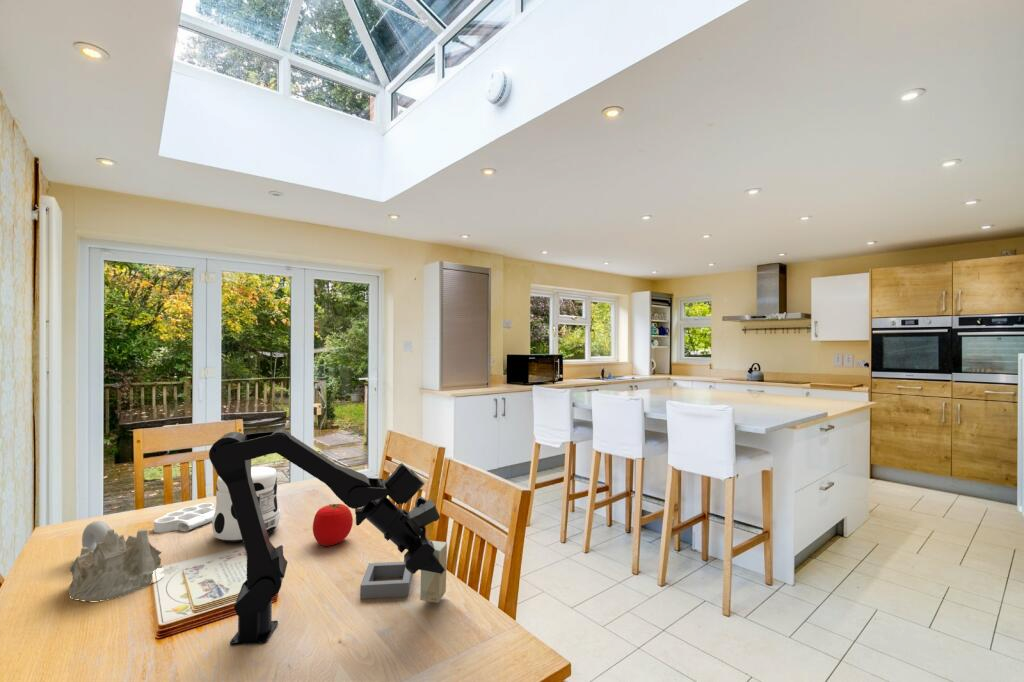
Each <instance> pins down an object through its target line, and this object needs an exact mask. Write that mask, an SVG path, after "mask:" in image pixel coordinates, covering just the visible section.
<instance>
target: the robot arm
mask: <svg viewBox="0 0 1024 682" xmlns="http://www.w3.org/2000/svg"><path fill="white" fill-rule="evenodd" d="M272 454H278V455H279V456H281V457H282V458H284V459H286V460H287V461H289V462H290V463H291V464H294V465H295V466H297V467H298V468H300V469H302V470H303V471H304V472H306V473H308V474H309V475H311V476H312V477H314V478H316V479H317V480H319V481H320V482H322V483H324V484H325V485H326V486H327V487H328V488H330V490H331V491H332V493H333V494H334V495H335V496H336V497H337V498H338V499H339V500H341V502H342V503H343V504H344V505H345V506H347V507H348V508H349V509H353V510H354V514H355V525H356V526H360V525H361V523H363V522H364V521H365V520H367V521H368V522H369V523H370V524H372V525H373V526H374V527H375V528H376V529H377V530H378V531H379V532H381V534H383V538H384V539H385V540H386V541H387V542H388V541H390V542H391V543H393V544H394V545H395V546H396V547H397V550H398V551H399V552H400V553H401V554H403V553H404V551H405V550H407V551H406V553H405V554H403V562H404V563H405V567H406V569H407V570H408V571H409V572H410V573H412V575H415V574H416V573H417V572H418V571H421V570H424V571H430V572H435V573H440V574H442V573H443V572H444V571H445V569H444V567H443V566H442V565H441V563H440V562H439V561H438V559H437V558H436V557H435V555H434V554H433V553H434V550H435V548H434V545H433V543H432V541H433V540H429V539H428V538H427V535H426V533H427V531H426V526H428V525H430V524H431V523H434V522H437V521H438V520H439V519H440V518H441V515H440V514H439V511H438V510H437V507H436V504H435V502H434V501H433V499H430V498H428V499H425V498H424V497H422V496H420V497H418V498H416V499H415V503H414V504H415V505H414V507H412V510H410V511H409V512H408V511H407V510H406V509H405V508H404V509H403V508H401V509H400V508H399V507H398V506H397V505H402V506H403V504H404V505H406V504H407V503H408V502H409V501H410V500H412V498H413V497H414V496H415V495H416V494H417V493H418V492H419V491H420V490H421V488H423V486H424V485H425V482H424V480H423V479H422V478H421V477H420V476H419V475H417V473H415V471H414V470H413V469H410V468H409V467H408V466H406V465H405V464H404V463H402V462H401V463H400V464H399V465H398V466H397V467H396V468H395V470H394V471H393V472H392V473H391V474H390V475H389V476H387V478H386V479H384V478H378V477H368V476H367V475H366V474H364V473H362V472H360V471H356V470H354V469H352V468H348V467H345V466H342V465H339V464H338V463H337V464H336V463H335V462H334V461H332V460H331V459H330V458H327V457H326V456H324V455H322V454H321V453H319V452H318V451H317V450H315V449H313V448H312V447H311V446H309V445H307V444H306V443H304V442H303V441H301V440H300V439H298V438H296V437H295V436H293V435H292V434H291V433H290V431H288V430H286V429H282V428H279V429H276V430H271V431H263V432H262V431H260V432H253V433H248V434H247V433H246V434H244V433H242V432H238V431H230V432H228V433H225V434H224V435H223V436H221V437H220V438H219V439H218V440H217V441H215V442H214V443H213V444H212V446H211V447H210V449H209V452H208V457H209V461H210V463H211V465H212V466H213V468H214V470H215V472H216V474H217V476H219V477H220V478H221V479H222V480H223V481H224V483H225V484H226V485H227V487H228V491H229V494H230V498H231V501H232V505H233V508H234V512H235V515H236V519H237V522H238V526H239V529H240V533H241V536H242V540H243V541H242V542H243V546H244V551H245V553H246V580H245V581H244V582H243V583H242V585H241V587H240V589H239V591H238V592H239V593H238V595H237V598H236V601H235V603H234V606H233V609H234V610H235V613H236V615H237V632H235V633H236V634H234V636H233V637H232V638H231V640H230V641H229V644H230V646H234V645H235V646H236V645H237V646H239V645H252V644H253V645H254V644H264V643H267V641H268V640H269V639H270V637H271V636H272V633H273V632H274V631H275V629H276V628H277V626H278V625H279V621H278V620H272V611H273V610H272V609H273V607H272V605H273V599H272V598H274V597H275V596H276V595H277V594H278V593H279V591H280V590H281V588H282V583H283V580H284V578H285V577H286V571H287V567H288V566H287V565H288V560H287V559H286V558H285V556H284V547H283V544H281V545H279V546H277V547H275V546H274V545H273V543H272V542H271V541H270V538H269V534H267V530H266V527H265V523H264V520H263V516H262V513H261V509H260V505H259V502H258V498H257V495H256V491H255V488H254V484H253V481H252V477H251V467H252V460H254V459H256V458H260V457H264V456H268V455H272ZM388 497H389V498H390V499H391V500H392V501H393V502H394V503H393V502H392V501H391V500H390V499H389V498H388ZM395 503H396V504H395ZM430 541H431V542H430Z"/></svg>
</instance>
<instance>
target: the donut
mask: <svg viewBox="0 0 1024 682" xmlns="http://www.w3.org/2000/svg"><path fill="white" fill-rule="evenodd" d="M109 529H111V528H110V526H109V525H108V524H107V523H106V522H105V521H102V520H101V521H100V520H94V521H92V522H90V523H89V524H87V525H86V526H85V528H84V530H83V532H82V534H81V535H82V536H81V545H82V548H83V547H87V548H89V549H88V551H89V552H90V551H93V552H94V550H95V548H96V546H97V543H100V542H104V541H105V537H106V535H107V532H108V530H109Z"/></svg>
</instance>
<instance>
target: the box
mask: <svg viewBox="0 0 1024 682" xmlns="http://www.w3.org/2000/svg"><path fill="white" fill-rule="evenodd" d="M429 541H430V542H431V541H432V543H433V545H434V548H435V550H434V553H433V554H434V555H435V557H436V558H437V559H438V561H439V562H440V563H441V565H442V566H443V567H444V569H445V571H444V572H443V573H442V574H440V573H435V572H430V571H424V570H420V588H419V589H420V592H419V593H420V594H419V597H420V598H419V600H420V601H423V602H430V603H440V601H441V600H442V598H443V596H444V595H445V593H446V590H447V560H448V559H447V557H448V555H447V554H448V552H447V550H448V542H447V541H438V540H429Z"/></svg>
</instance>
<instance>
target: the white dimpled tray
mask: <svg viewBox="0 0 1024 682" xmlns="http://www.w3.org/2000/svg"><path fill="white" fill-rule="evenodd" d="M215 510H216V507H215V504H214V503H213V502H204V503H203V502H202V503H198V504H194V505H191V506H186V507H183V508H180V509H177V510H175V511H170V512H168V513H165V515H163V516H161V517H158V518H156V519H155V520H154V519H153V532H154V533H156V534H157V533H159V534H163V533H167V532H172V531H181V532H189V531H191V530H193V529H196V528H198V527H201V526H204V525H206V524H208V523H212V521H213V517H214V513H215Z"/></svg>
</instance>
